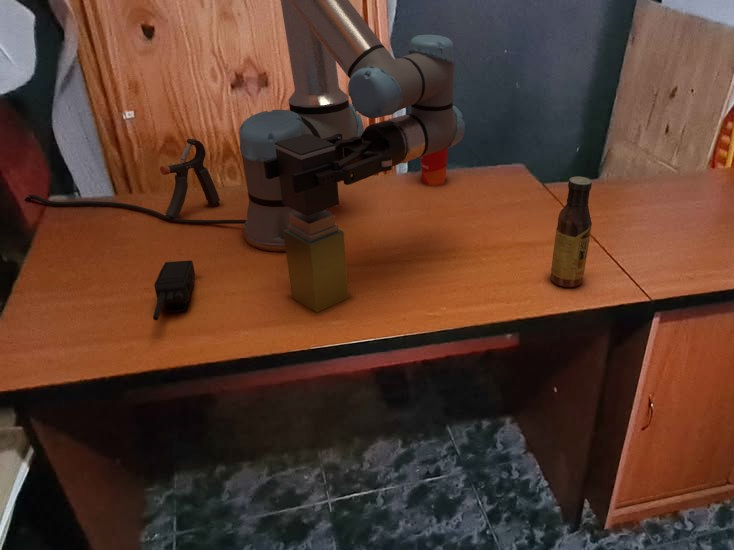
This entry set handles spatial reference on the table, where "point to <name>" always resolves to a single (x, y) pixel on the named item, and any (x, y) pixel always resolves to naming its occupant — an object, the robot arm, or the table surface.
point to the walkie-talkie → (174, 286)
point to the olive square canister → (316, 260)
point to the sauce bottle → (572, 235)
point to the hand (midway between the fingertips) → (280, 176)
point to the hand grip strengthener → (181, 179)
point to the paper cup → (434, 168)
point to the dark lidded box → (299, 158)
